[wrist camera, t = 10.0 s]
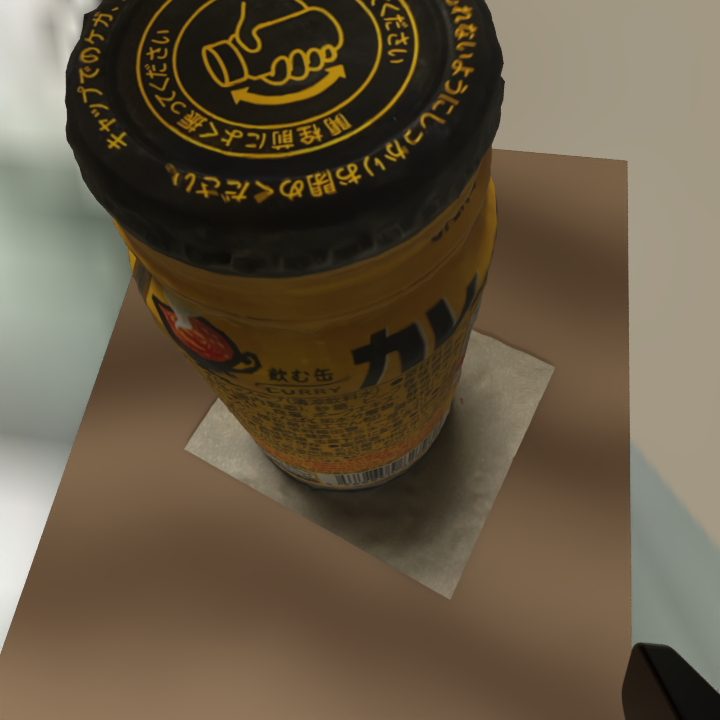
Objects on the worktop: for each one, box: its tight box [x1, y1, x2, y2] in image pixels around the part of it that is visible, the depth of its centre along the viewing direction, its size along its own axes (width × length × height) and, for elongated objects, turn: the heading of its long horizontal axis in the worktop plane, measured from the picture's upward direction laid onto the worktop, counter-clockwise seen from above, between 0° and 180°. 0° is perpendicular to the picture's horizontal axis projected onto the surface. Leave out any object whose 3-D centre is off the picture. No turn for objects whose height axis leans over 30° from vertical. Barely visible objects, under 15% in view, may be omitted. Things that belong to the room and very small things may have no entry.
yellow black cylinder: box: [65, 0, 555, 599], centre depth 12 cm, size 7×8×12 cm
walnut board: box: [0, 149, 632, 720], centre depth 18 cm, size 20×16×2 cm
